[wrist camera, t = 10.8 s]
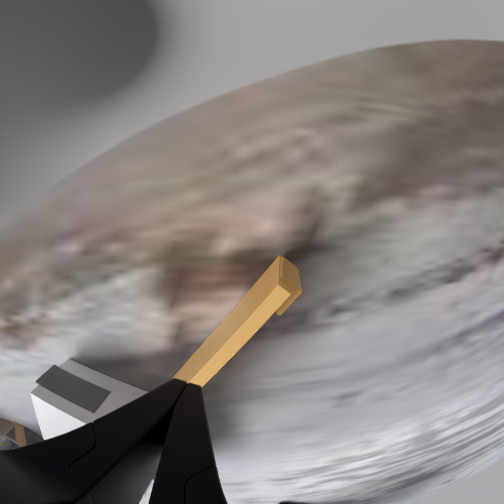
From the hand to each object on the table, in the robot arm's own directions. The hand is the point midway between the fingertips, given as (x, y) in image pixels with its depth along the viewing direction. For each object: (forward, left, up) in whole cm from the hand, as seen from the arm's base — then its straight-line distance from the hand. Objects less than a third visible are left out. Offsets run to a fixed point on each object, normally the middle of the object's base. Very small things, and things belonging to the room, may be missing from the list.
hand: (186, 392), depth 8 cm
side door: (+1, +5, -12) cm, 13 cm away
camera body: (+8, +16, -12) cm, 22 cm away
